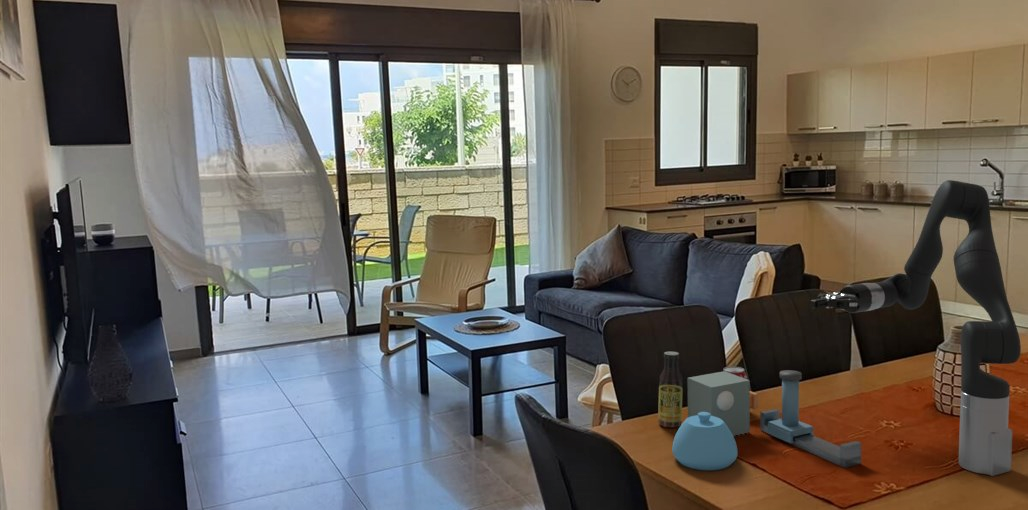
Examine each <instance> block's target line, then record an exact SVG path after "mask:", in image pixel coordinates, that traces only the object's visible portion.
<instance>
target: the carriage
mask: <svg viewBox="0 0 1028 510" xmlns="http://www.w3.org/2000/svg"><path fill="white" fill-rule="evenodd" d="M802 374H803V373H802V372H801V371H798V370H791V369H786V370H780V371H779V379H781V418H780V419H779V420H774V421H769V422H768V434H767V435H769V434H771V435H770V436H772V435H773V436H772V437H774V436H775V437H774V438H776V437H777V438H776V439H778V438H780V439H779V440H781V439H782V440H781V441H783V440H784V441H783V442H785V441H786V442H785V443H787V442H789V443H788V444H790V443H793V437H794V436H798V435H803V434H807V433H808V434H811V435H813V436H814V427H813V425H810V424H808V423H805V422H803V421H800V418H799V417H800V413H799V412H800V411H799V410H800V380H802Z"/></svg>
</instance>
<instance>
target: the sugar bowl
mask: <svg viewBox="0 0 1028 510" xmlns="http://www.w3.org/2000/svg"><path fill="white" fill-rule="evenodd" d="M671 447H672V449H671V450H672V454H673V456H674V457H675V459H676V460H677V461H678V462H679V464H681V465H683V467H687V468H689V469H694V470H696V471H697V470H698V471H717V470H718V471H719V470H723V469H726V468H728V467H730V466H731V465H732V464H733V463H734V462H735V461H736V459H737V457H738V447H737V443H736V440H735V436H733V435H732V433H731V431H730V430H729V428H728V427H727V425H726V424H725V423H724V421H723V420H721V419H720V418H718V417H714V416H711V414H710V413H708V412H700V413H698V415H696V416H691V417H688V416H687V418H686V419H684V421H683V422H681V425H680V426H679V428H678V430H677V432H676V433H675V435H674V439H673V443H672V446H671Z"/></svg>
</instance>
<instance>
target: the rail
mask: <svg viewBox="0 0 1028 510" xmlns="http://www.w3.org/2000/svg"><path fill="white" fill-rule="evenodd" d="M759 416H760V417H759V421H760V423H759V424H760V428H759V429H760V430H762V431H761V432H763V431H764V432H763V433H765V432H766V433H765V434H767V433H768V422H769V421H774V420H779V419H781V417H780V410H779V409H777V408H774V409H773V408H772V409H768V410H764V411H760V415H759ZM769 436H772V437H774V438H776V439H778V440H780V441H783V442H785V443H787V444H790V445H792V446H794V447H797V448H799V449H800V450H803V451H806V452H808V453H810V454H812V455H815V456H817V457H819V458H821V459H824V460H826V461H829V462H830V463H833V464H834V465H838V466H840V467H841V468H844V469H846V468H851V467H854V466H857V465H861V464H862V442H860V441H857V440H854V441H849V442H846V443H842V444H839V445H837V444H835V443H832V442H829V441H828V440H824V439H823V438H821V437H817V436H816V435H814V434H813V435H811V434H808V433H807V434H803V435H798V436H794V437H793V443H789V442H786V441H784V440H782V439H780V438H777V437H775V436H773V435H771V434H770V435H769Z"/></svg>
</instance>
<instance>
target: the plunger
mask: <svg viewBox="0 0 1028 510" xmlns="http://www.w3.org/2000/svg"><path fill="white" fill-rule="evenodd" d="M750 409H752V410H753V411H754V410H758V409H759V394H758V393H757V392H754V391H751V390H750Z"/></svg>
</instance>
